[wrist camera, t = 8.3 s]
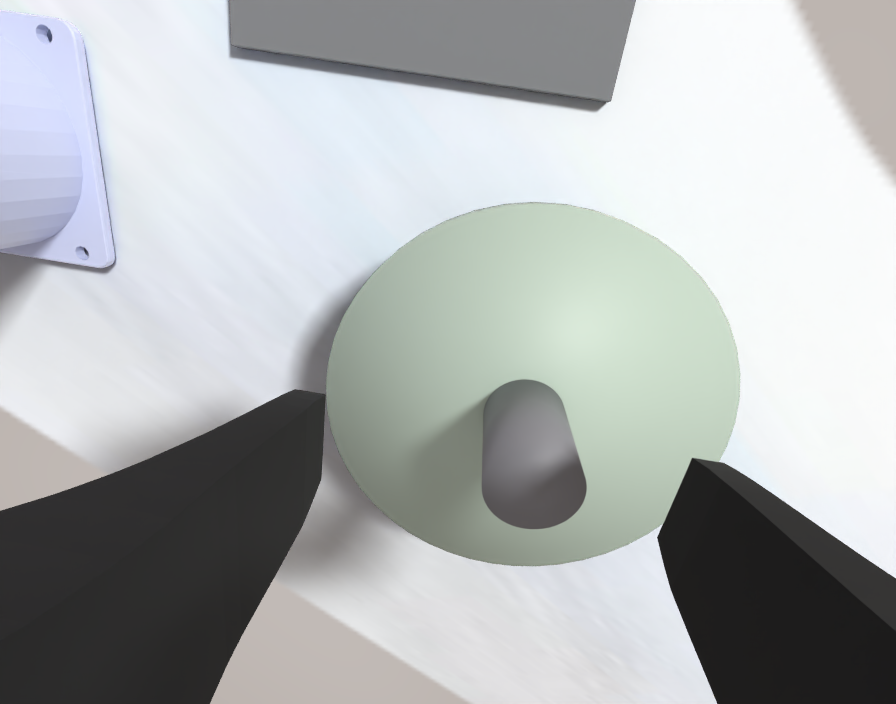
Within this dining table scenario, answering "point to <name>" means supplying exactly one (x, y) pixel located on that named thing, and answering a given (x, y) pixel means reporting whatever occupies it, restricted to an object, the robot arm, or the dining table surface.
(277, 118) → the dining table surface
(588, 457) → the lid
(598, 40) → the mat
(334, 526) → the dining table surface
